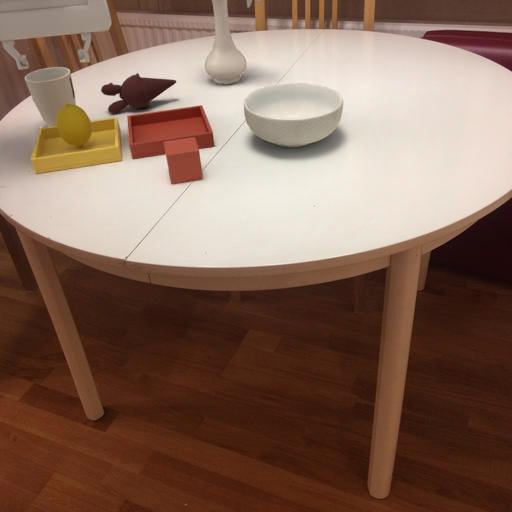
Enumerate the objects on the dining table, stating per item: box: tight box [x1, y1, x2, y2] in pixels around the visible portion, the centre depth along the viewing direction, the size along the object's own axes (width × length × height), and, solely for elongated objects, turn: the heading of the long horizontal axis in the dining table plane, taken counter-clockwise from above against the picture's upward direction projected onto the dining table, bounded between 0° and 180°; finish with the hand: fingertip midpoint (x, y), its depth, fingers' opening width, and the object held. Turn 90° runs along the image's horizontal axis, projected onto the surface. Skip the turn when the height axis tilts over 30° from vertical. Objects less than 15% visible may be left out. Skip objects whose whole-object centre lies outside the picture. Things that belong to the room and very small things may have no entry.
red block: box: [164, 137, 204, 185], centre depth 82 cm, size 5×5×5 cm
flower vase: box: [204, 0, 261, 85], centre depth 110 cm, size 13×18×25 cm
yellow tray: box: [30, 116, 123, 175], centre depth 92 cm, size 14×13×3 cm
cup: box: [24, 66, 77, 127], centre depth 100 cm, size 8×8×10 cm
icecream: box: [100, 72, 177, 115], centre depth 106 cm, size 7×7×15 cm
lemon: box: [57, 103, 92, 148], centre depth 90 cm, size 6×6×8 cm
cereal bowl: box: [243, 82, 344, 148], centre depth 90 cm, size 17×17×7 cm
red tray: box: [126, 104, 216, 160], centre depth 95 cm, size 14×13×3 cm
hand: (54, 65), depth 84 cm, fingers open, 8 cm apart
